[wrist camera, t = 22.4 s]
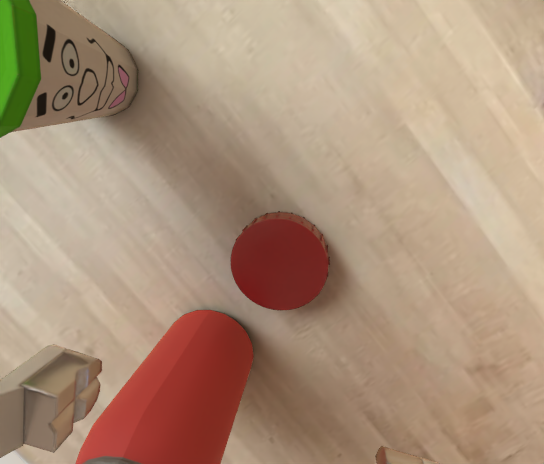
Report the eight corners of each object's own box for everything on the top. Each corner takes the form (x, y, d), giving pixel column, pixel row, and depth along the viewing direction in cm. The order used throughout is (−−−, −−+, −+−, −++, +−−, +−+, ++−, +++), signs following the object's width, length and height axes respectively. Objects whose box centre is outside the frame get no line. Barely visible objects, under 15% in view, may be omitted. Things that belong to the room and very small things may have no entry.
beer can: (222, 290, 24) (130, 433, 13) (272, 362, 25) (227, 551, 14) (154, 328, 26) (21, 481, 15) (203, 392, 27) (114, 582, 16)
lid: (227, 218, 23) (219, 225, 21) (321, 204, 21) (321, 210, 20) (246, 303, 24) (240, 315, 23) (335, 294, 23) (335, 306, 21)
